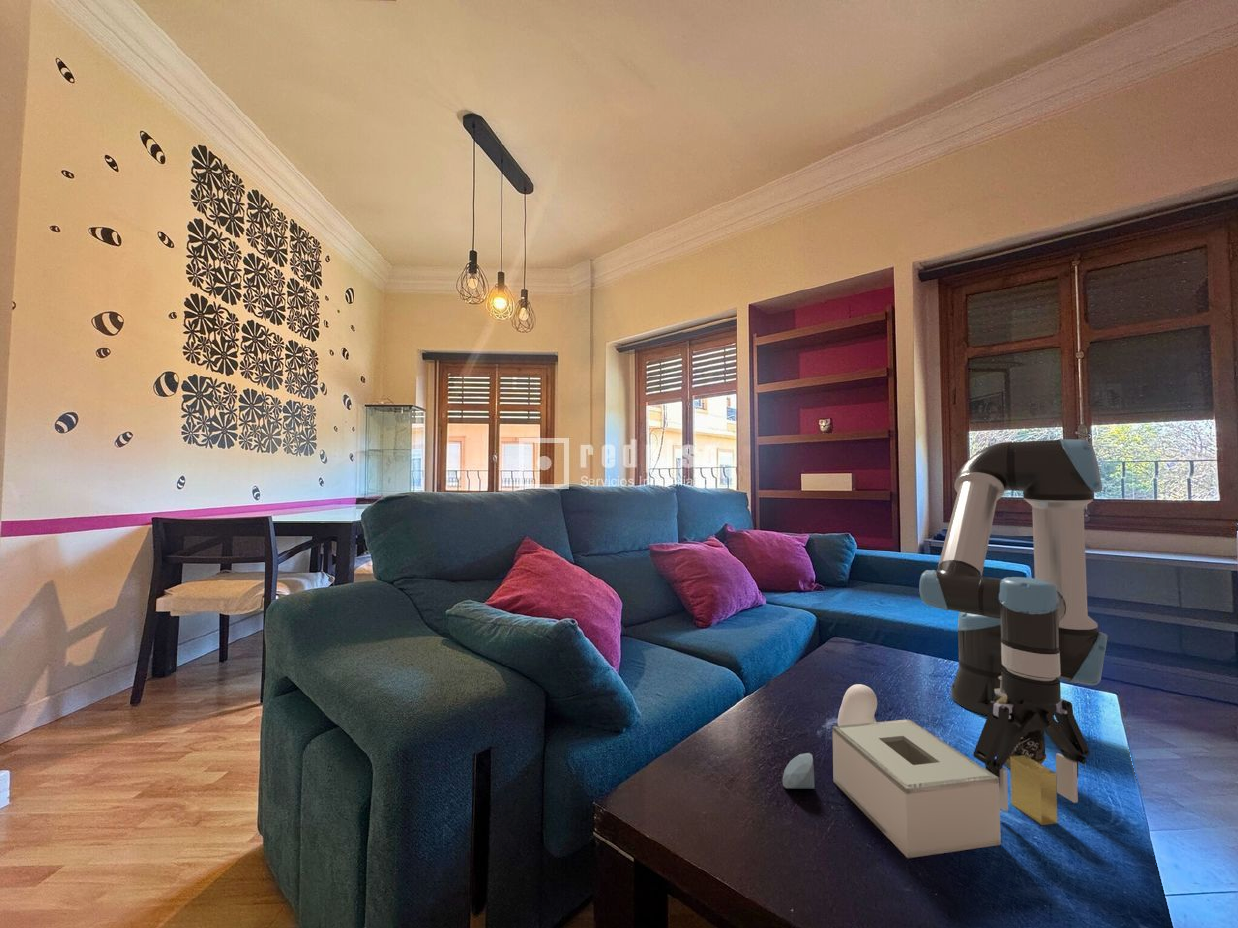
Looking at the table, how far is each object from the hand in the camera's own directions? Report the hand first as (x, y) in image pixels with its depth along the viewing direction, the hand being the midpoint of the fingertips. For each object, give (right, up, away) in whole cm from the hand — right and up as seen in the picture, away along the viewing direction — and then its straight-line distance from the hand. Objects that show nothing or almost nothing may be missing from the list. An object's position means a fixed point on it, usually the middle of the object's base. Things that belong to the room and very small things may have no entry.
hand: (1033, 801), depth 79 cm
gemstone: (-36, -3, +7) cm, 37 cm away
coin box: (-20, -2, +1) cm, 20 cm away
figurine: (-18, -3, +21) cm, 28 cm away
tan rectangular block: (0, -2, 0) cm, 2 cm away
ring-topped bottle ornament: (+9, -3, +14) cm, 17 cm away
